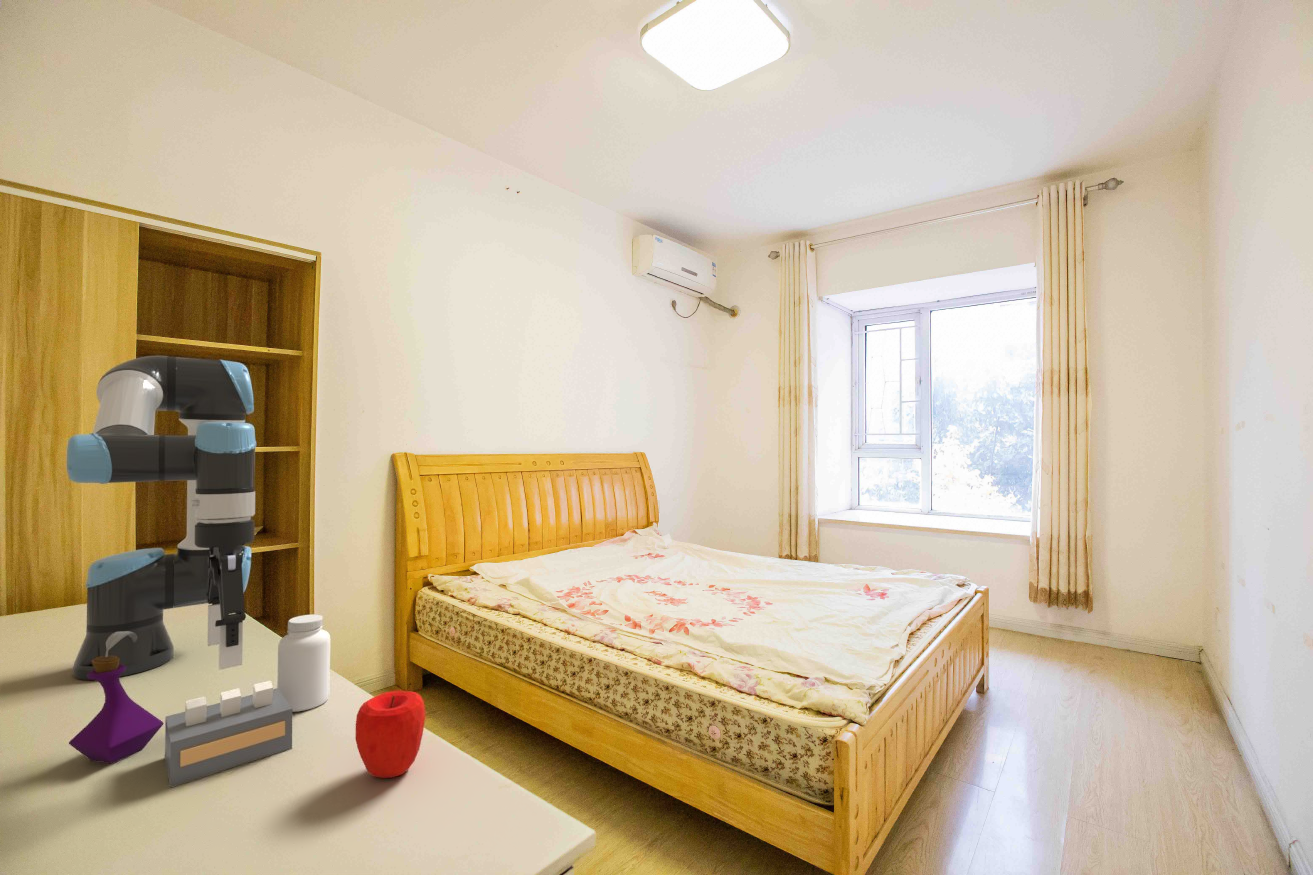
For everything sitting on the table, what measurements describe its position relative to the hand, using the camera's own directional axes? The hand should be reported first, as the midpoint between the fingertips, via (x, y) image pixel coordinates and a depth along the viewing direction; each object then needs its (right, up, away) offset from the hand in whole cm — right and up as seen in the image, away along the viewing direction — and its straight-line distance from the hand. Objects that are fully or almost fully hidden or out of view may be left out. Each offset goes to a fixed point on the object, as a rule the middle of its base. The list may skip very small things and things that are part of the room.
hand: (224, 654), depth 89 cm
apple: (+31, -13, -10) cm, 35 cm away
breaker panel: (+4, -13, -5) cm, 14 cm away
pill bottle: (+5, -13, +12) cm, 18 cm away
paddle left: (+2, -7, -7) cm, 10 cm away
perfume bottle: (-12, -13, -5) cm, 18 cm away
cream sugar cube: (+7, -7, -2) cm, 10 cm away
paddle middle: (+4, -7, -5) cm, 9 cm away
